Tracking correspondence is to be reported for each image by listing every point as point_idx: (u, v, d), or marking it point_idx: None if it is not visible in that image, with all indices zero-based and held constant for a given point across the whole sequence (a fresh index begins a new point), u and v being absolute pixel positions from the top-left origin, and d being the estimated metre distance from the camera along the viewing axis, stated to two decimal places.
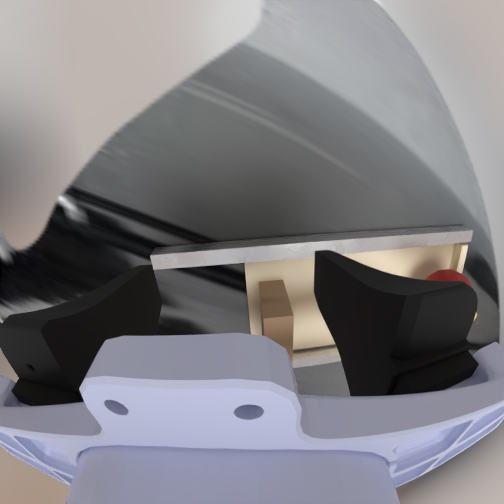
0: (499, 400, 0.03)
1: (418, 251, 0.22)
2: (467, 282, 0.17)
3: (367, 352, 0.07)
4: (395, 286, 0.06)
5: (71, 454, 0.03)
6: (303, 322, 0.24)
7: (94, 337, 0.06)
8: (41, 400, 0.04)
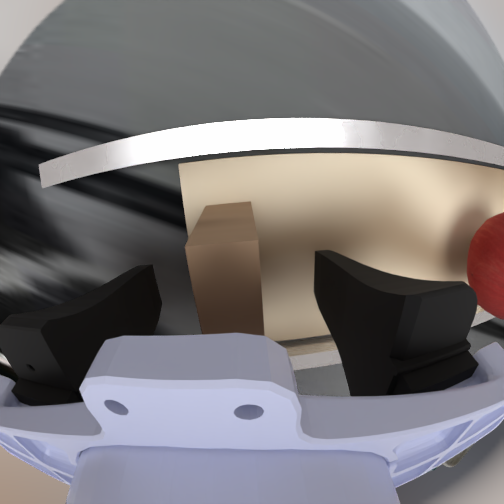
0: (499, 400, 0.03)
1: (469, 174, 0.12)
2: None
3: (367, 352, 0.07)
4: (395, 286, 0.06)
5: (71, 454, 0.03)
6: (292, 289, 0.14)
7: (94, 337, 0.06)
8: (41, 400, 0.04)
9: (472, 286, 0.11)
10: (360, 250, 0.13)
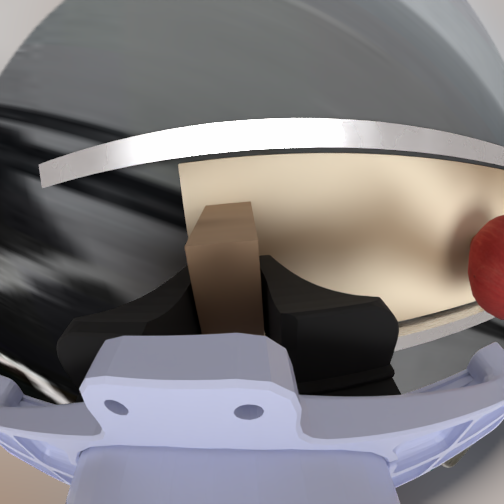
0: (499, 400, 0.03)
1: (469, 174, 0.12)
2: None
3: None
4: (298, 299, 0.06)
5: (71, 454, 0.03)
6: None
7: None
8: None
9: (474, 288, 0.11)
10: (360, 250, 0.13)
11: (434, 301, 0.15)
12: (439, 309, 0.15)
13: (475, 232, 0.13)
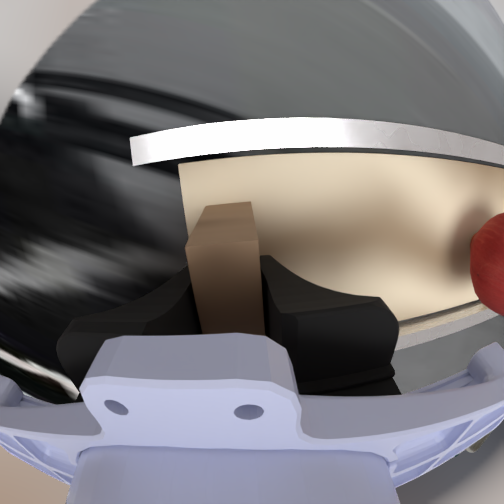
0: (499, 400, 0.03)
1: (469, 173, 0.12)
2: None
3: None
4: (298, 299, 0.06)
5: (71, 454, 0.03)
6: None
7: None
8: None
9: (478, 286, 0.11)
10: (360, 250, 0.13)
11: (435, 300, 0.15)
12: (440, 308, 0.15)
13: (475, 231, 0.13)
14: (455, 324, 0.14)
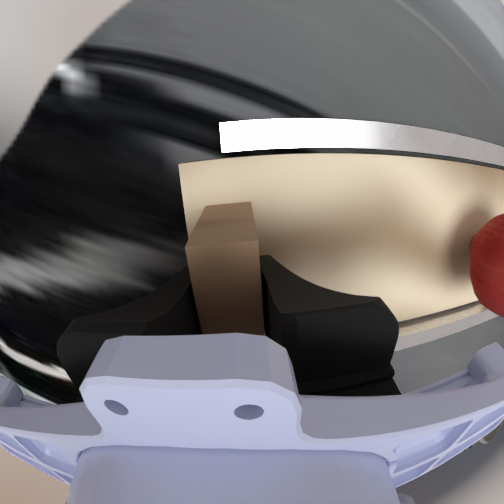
0: (499, 400, 0.03)
1: (469, 174, 0.12)
2: None
3: None
4: (298, 299, 0.06)
5: (71, 454, 0.03)
6: None
7: None
8: None
9: (477, 287, 0.11)
10: (360, 250, 0.13)
11: (434, 301, 0.15)
12: (439, 309, 0.15)
13: (475, 232, 0.13)
14: (484, 314, 0.15)
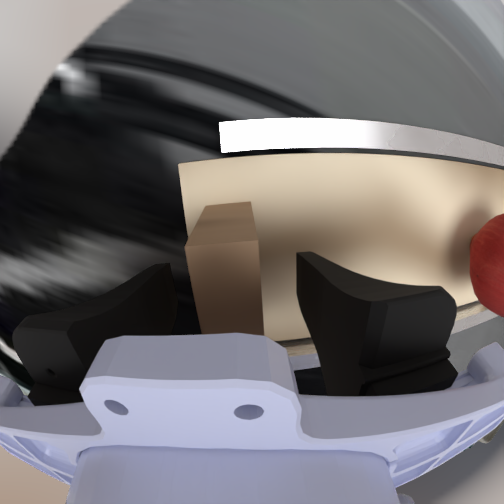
0: (499, 400, 0.03)
1: (469, 174, 0.12)
2: None
3: (339, 357, 0.07)
4: (367, 290, 0.06)
5: (71, 454, 0.03)
6: (292, 289, 0.14)
7: None
8: None
9: (477, 287, 0.11)
10: (360, 250, 0.13)
11: None
12: None
13: (475, 232, 0.13)
14: (484, 314, 0.14)
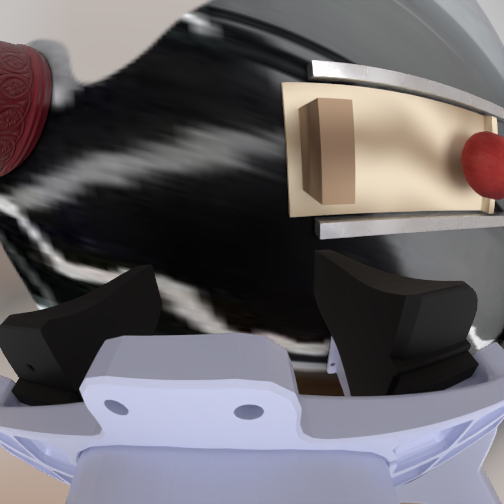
0: (499, 400, 0.03)
1: (453, 112, 0.17)
2: None
3: (367, 351, 0.07)
4: (395, 286, 0.06)
5: (71, 454, 0.03)
6: None
7: (94, 337, 0.06)
8: (41, 400, 0.04)
9: (469, 175, 0.16)
10: (390, 148, 0.18)
11: (443, 200, 0.20)
12: (447, 208, 0.20)
13: None
14: (482, 220, 0.20)
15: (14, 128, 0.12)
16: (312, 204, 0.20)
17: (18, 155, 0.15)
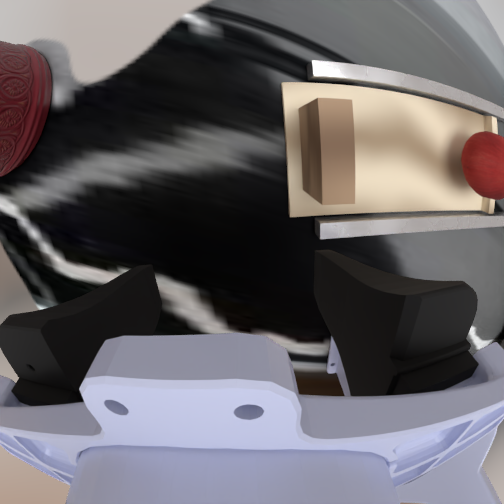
0: (499, 400, 0.03)
1: (453, 112, 0.17)
2: None
3: (367, 351, 0.07)
4: (395, 286, 0.06)
5: (71, 454, 0.03)
6: None
7: (94, 337, 0.06)
8: (41, 400, 0.04)
9: (469, 175, 0.16)
10: (390, 148, 0.18)
11: (443, 200, 0.20)
12: (447, 208, 0.20)
13: None
14: (482, 220, 0.20)
15: (14, 128, 0.12)
16: (312, 204, 0.20)
17: (18, 155, 0.15)
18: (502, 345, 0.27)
